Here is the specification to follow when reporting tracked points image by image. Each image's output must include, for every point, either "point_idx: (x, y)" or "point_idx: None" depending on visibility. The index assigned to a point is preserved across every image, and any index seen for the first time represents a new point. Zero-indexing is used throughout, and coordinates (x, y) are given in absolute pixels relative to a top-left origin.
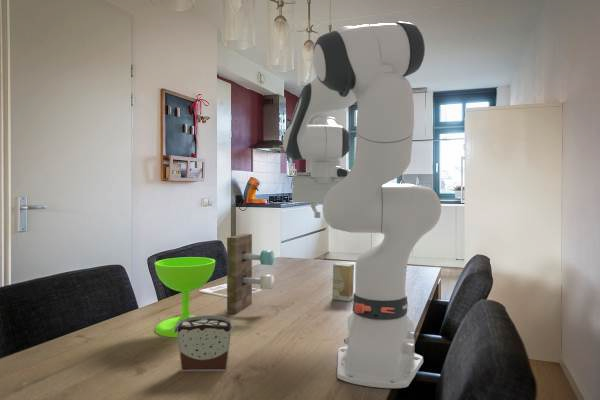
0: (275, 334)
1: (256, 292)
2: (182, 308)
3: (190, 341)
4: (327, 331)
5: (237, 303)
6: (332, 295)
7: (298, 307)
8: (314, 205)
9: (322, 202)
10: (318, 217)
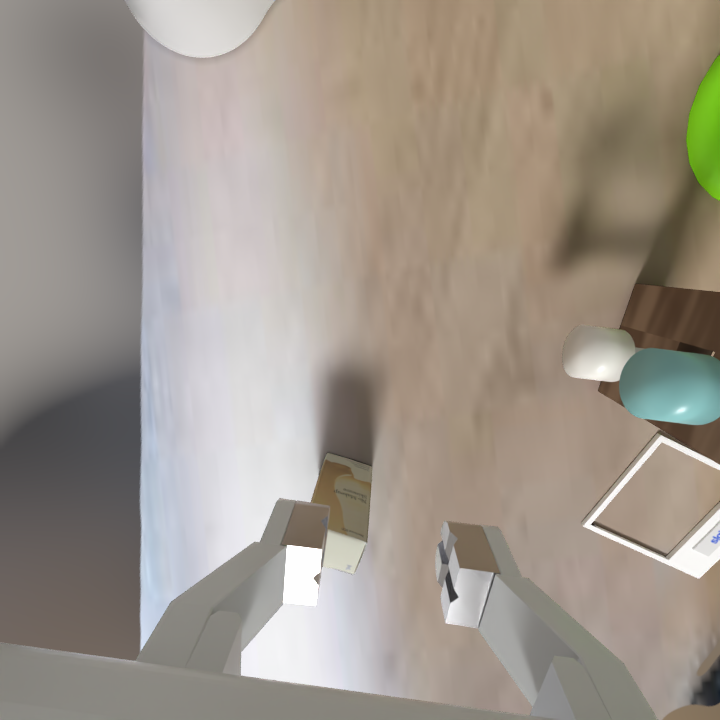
0: (494, 104)
1: (596, 506)
2: None
3: None
4: (353, 166)
5: (653, 296)
6: (371, 472)
7: (457, 378)
8: (568, 675)
9: (431, 703)
10: (452, 522)
